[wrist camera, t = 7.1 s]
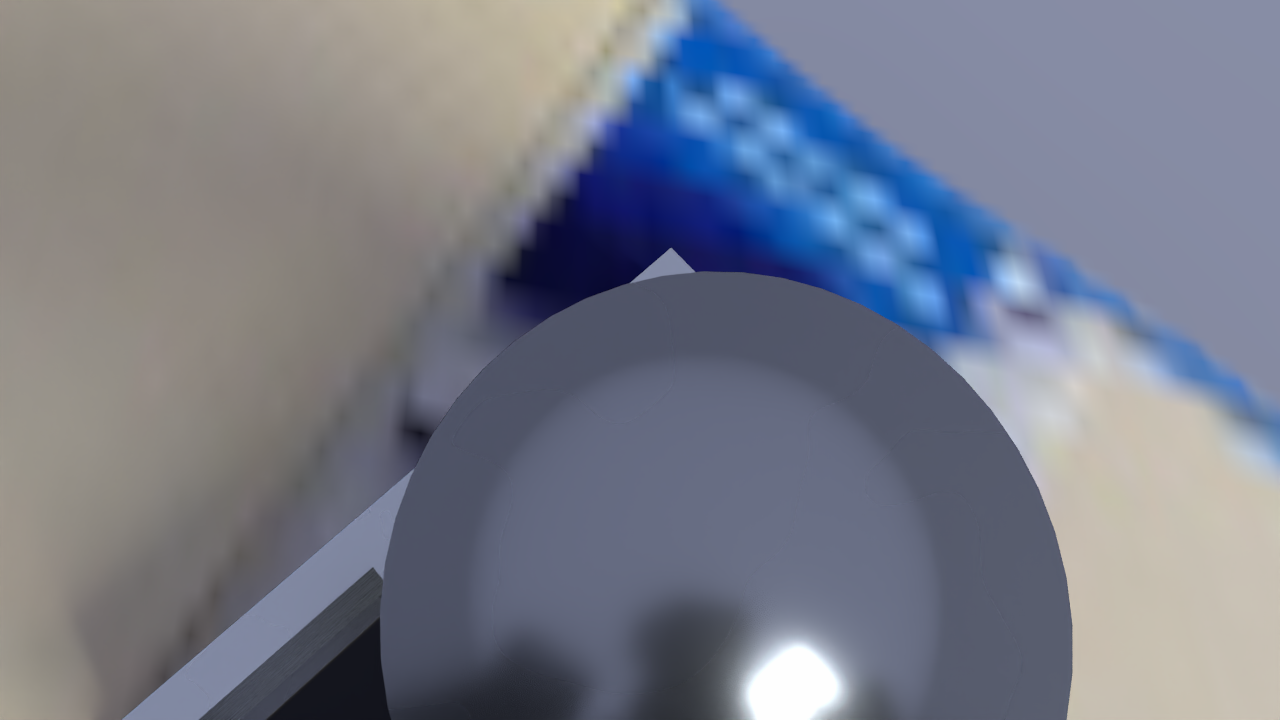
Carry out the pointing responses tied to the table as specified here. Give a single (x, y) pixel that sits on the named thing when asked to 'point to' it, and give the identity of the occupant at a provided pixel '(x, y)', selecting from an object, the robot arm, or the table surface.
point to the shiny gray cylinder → (723, 525)
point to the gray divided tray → (300, 616)
